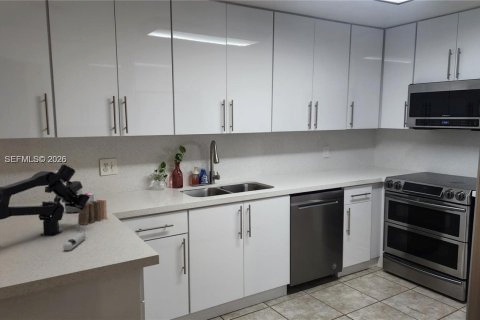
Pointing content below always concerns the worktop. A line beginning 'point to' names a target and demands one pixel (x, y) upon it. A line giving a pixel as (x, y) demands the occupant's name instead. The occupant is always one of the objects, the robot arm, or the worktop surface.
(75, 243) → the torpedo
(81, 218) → the domino
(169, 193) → the worktop surface
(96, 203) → the domino
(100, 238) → the worktop surface
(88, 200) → the supplement box
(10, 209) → the robot arm
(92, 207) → the domino
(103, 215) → the end domino
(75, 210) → the smart speaker
